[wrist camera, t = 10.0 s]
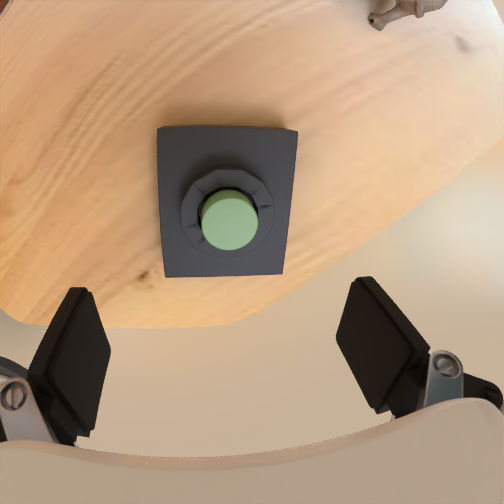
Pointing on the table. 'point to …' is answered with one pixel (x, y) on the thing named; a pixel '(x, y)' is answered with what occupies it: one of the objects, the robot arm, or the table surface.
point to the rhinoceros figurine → (405, 11)
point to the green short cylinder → (228, 220)
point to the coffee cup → (4, 6)
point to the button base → (224, 178)
